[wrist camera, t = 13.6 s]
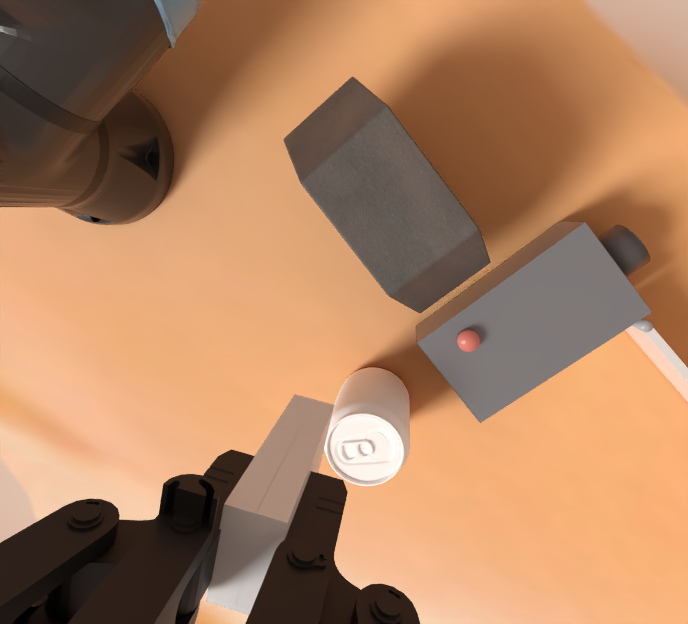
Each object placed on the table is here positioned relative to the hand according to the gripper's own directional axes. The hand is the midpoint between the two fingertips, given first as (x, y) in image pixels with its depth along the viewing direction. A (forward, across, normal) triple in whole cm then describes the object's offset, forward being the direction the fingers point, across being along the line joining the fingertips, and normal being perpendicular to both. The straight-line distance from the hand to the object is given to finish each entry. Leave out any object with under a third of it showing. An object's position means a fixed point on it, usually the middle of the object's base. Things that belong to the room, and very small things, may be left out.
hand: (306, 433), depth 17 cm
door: (+34, +30, +1) cm, 45 cm away
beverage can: (+35, +3, -12) cm, 37 cm away
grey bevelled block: (+35, 0, +9) cm, 36 cm away
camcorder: (+34, +16, +2) cm, 38 cm away
